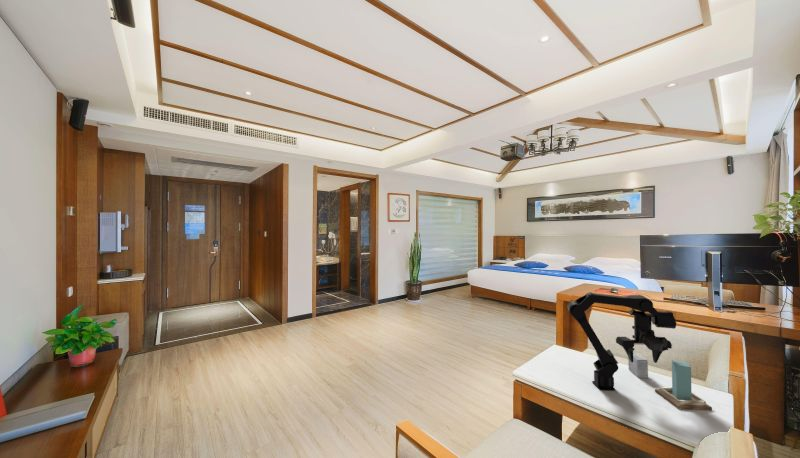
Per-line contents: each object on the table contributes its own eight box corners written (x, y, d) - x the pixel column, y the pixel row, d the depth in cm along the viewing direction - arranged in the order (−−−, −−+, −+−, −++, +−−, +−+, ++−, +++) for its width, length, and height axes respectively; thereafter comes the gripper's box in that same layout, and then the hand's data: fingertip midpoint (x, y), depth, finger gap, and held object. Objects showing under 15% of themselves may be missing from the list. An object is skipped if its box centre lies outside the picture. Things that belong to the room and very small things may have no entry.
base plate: (677, 408, 115) (677, 402, 115) (654, 391, 127) (654, 385, 127) (712, 409, 114) (711, 403, 114) (685, 392, 126) (685, 386, 126)
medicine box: (648, 378, 137) (648, 360, 137) (637, 377, 138) (637, 359, 138) (638, 370, 145) (638, 352, 145) (628, 369, 146) (627, 352, 146)
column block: (691, 402, 118) (691, 367, 117) (676, 399, 119) (676, 365, 119) (686, 396, 122) (686, 362, 121) (672, 393, 124) (671, 360, 123)
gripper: (631, 332, 119) (632, 371, 119) (682, 333, 117) (683, 372, 117) (614, 323, 130) (615, 358, 130) (660, 323, 128) (661, 359, 128)
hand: (643, 362), depth 126 cm, fingers open, 9 cm apart
